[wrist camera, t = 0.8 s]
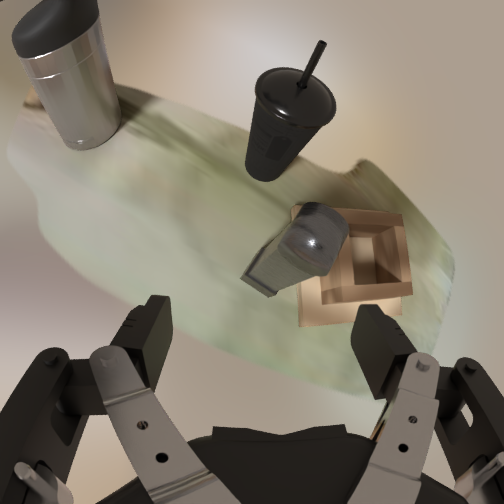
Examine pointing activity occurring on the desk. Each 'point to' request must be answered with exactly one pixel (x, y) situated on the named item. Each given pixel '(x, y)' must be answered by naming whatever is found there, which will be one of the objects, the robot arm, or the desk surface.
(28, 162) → the desk surface
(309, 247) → the ball topped joystick
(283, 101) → the drinking cup
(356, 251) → the wooden square box
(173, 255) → the desk surface
